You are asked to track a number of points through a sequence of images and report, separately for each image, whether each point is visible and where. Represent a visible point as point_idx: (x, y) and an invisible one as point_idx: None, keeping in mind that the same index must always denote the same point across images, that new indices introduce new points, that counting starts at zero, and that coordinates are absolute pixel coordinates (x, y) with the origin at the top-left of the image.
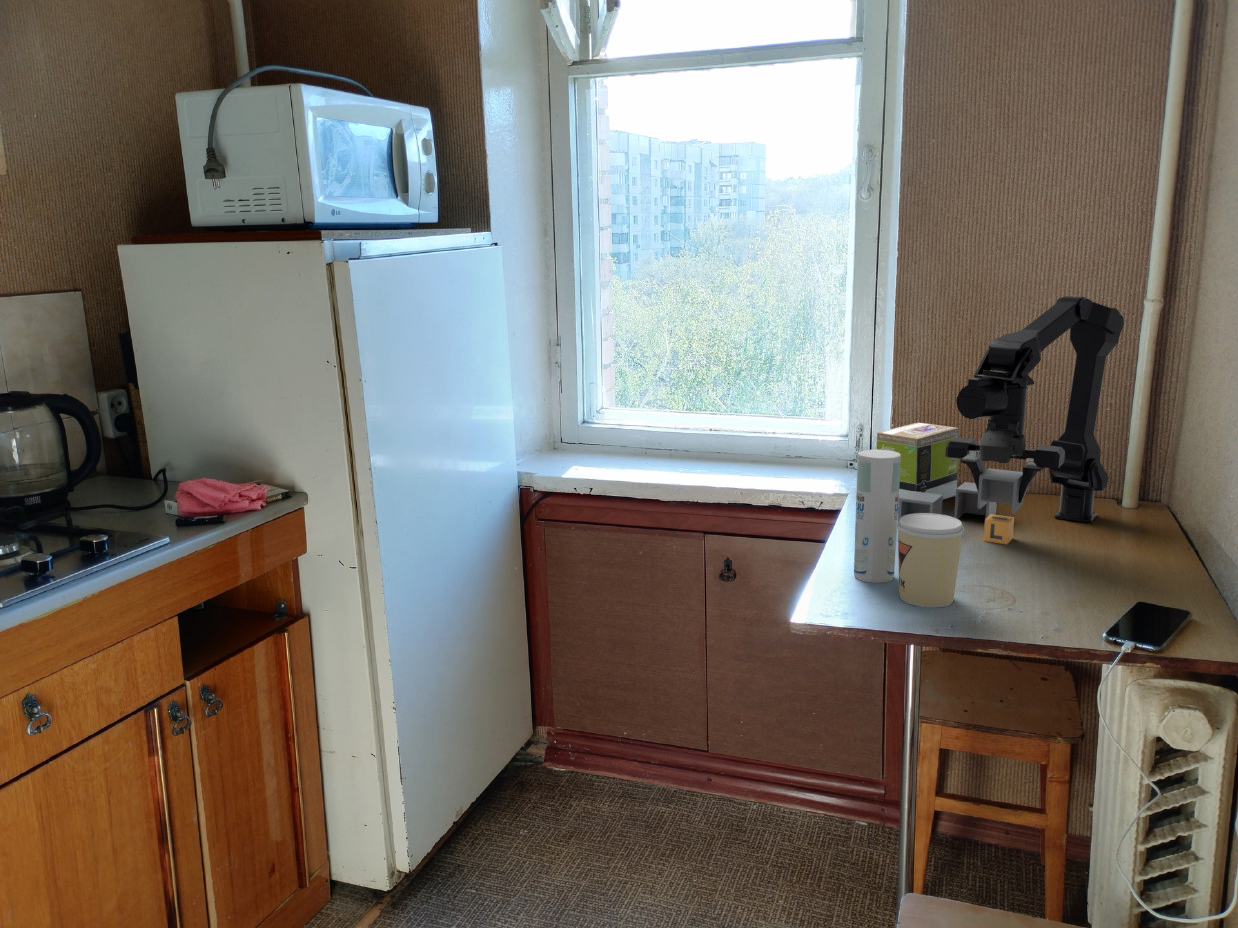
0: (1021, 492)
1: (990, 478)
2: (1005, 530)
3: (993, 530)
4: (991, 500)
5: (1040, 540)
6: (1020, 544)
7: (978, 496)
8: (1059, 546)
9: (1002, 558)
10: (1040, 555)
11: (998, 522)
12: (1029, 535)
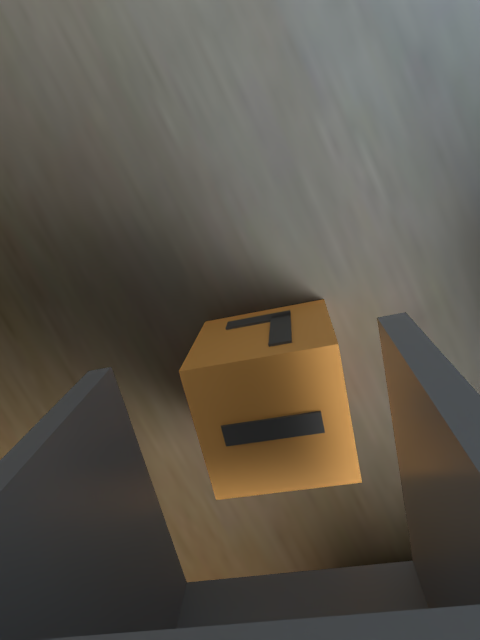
0: None
1: (340, 637)
2: (204, 345)
3: (272, 327)
4: (391, 574)
5: None
6: (158, 361)
7: (445, 363)
8: None
9: (92, 57)
10: (3, 259)
11: (245, 358)
12: (199, 506)
